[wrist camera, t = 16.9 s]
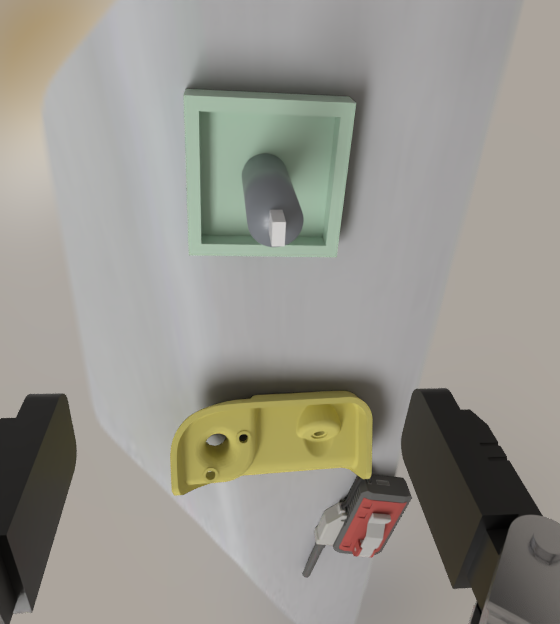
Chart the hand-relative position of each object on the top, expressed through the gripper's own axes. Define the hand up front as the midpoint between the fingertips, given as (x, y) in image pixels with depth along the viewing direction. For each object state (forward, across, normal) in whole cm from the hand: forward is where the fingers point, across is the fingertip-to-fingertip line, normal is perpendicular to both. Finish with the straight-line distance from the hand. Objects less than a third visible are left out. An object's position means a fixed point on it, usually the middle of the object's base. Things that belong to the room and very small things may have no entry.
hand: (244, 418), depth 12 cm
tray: (+32, -3, +4) cm, 32 cm away
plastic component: (+32, -5, +31) cm, 45 cm away
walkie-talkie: (+33, -16, +48) cm, 60 cm away
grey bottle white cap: (+31, -3, +4) cm, 32 cm away
